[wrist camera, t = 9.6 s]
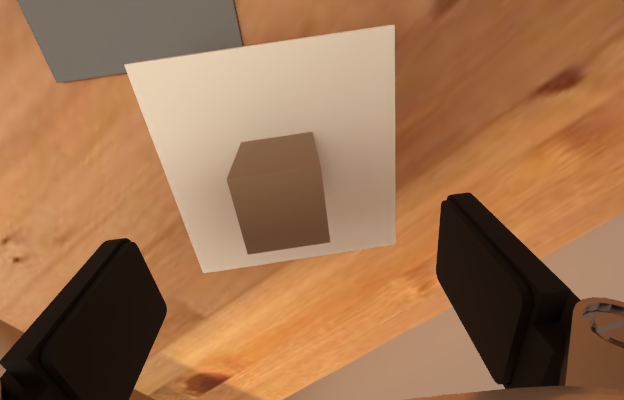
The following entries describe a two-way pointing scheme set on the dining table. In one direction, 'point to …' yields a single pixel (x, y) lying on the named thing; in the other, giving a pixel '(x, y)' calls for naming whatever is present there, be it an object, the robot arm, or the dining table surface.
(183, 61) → the lid
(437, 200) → the dining table surface
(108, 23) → the grey flat square slab
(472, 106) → the dining table surface
